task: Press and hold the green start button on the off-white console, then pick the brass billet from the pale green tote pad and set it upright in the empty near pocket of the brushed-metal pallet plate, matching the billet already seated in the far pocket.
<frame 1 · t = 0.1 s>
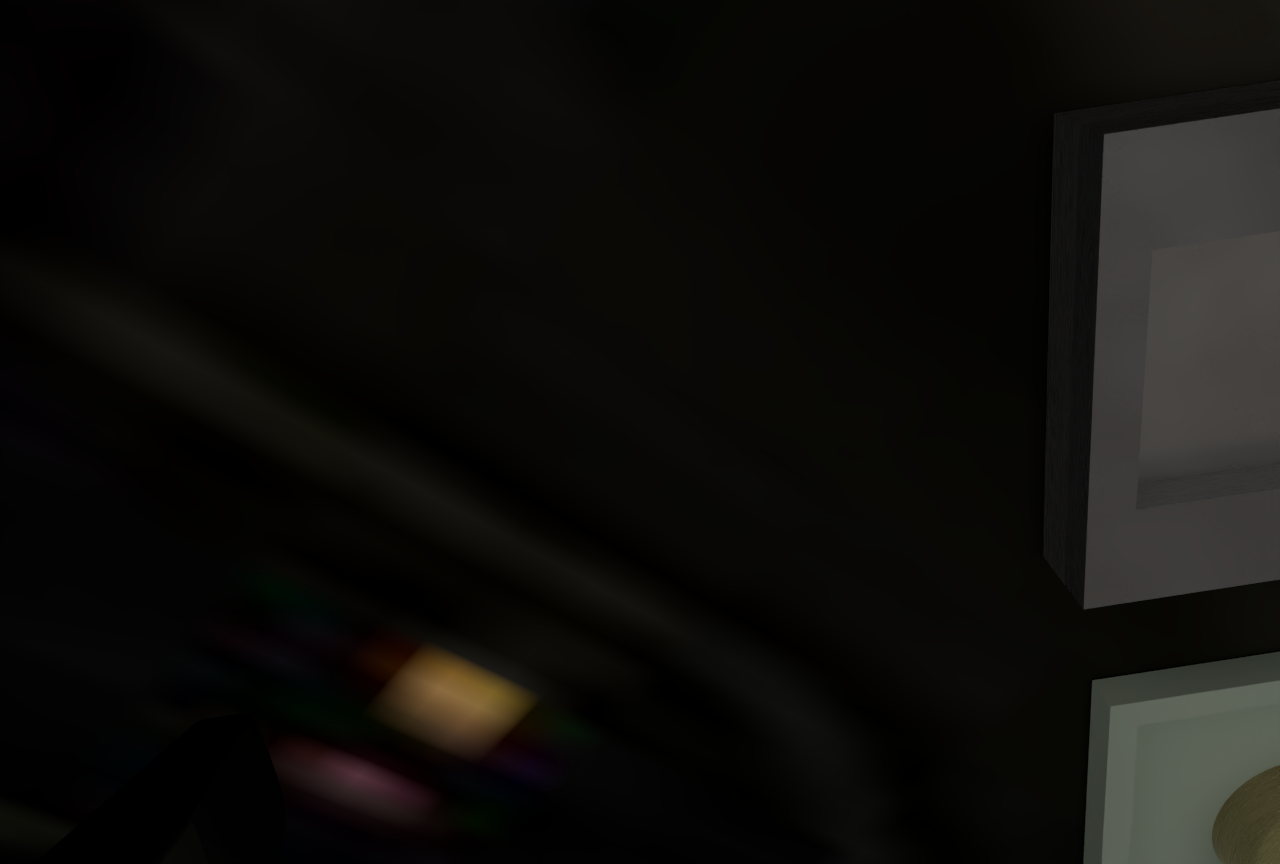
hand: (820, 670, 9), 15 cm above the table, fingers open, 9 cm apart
tote pad: (1278, 809, 30), on the table
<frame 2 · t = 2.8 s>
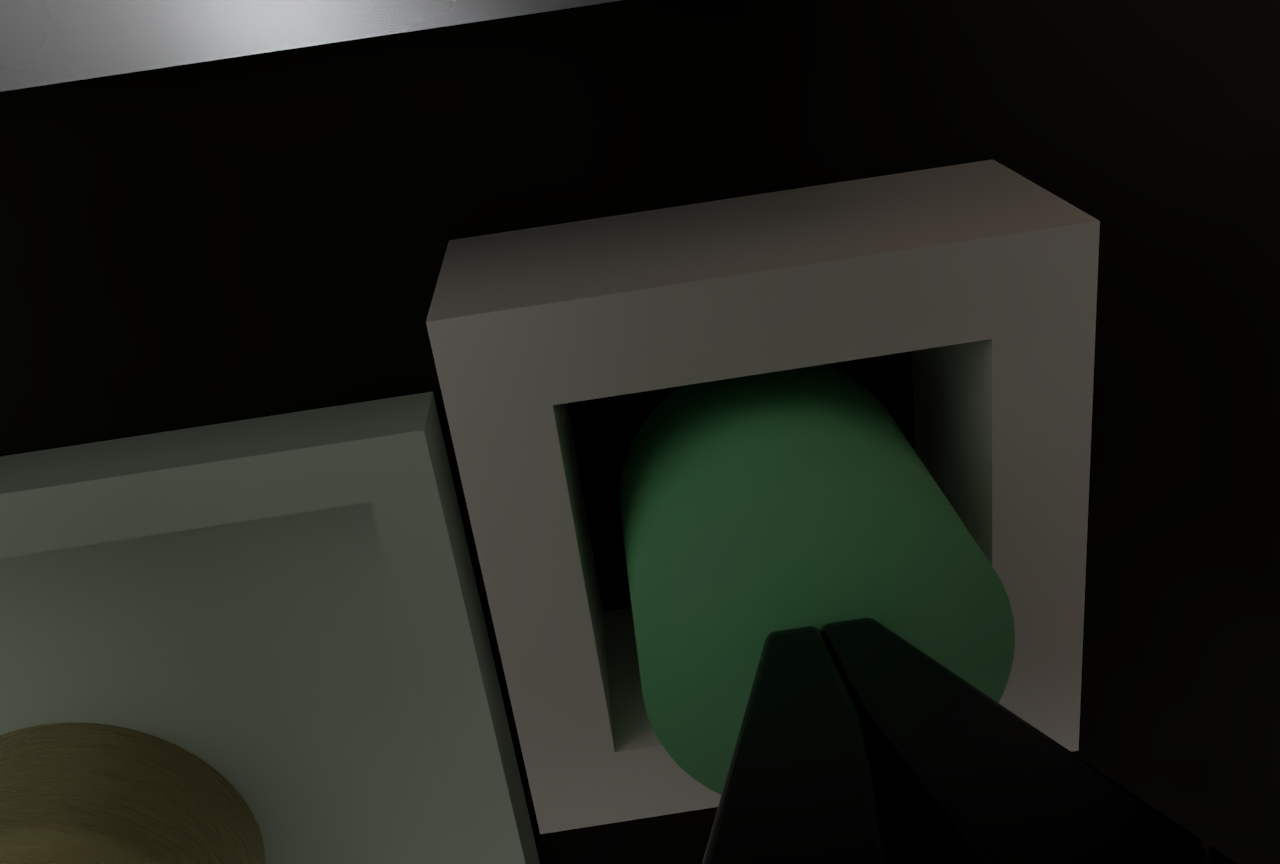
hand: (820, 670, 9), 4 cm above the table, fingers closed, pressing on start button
button console: (746, 445, 13), on the table
tote pad: (108, 829, 14), on the table
start button: (792, 568, 10), point 3 cm above the table, slide at 0.2 cm, touching gripper
billet: (97, 852, 14), resting on tote pad
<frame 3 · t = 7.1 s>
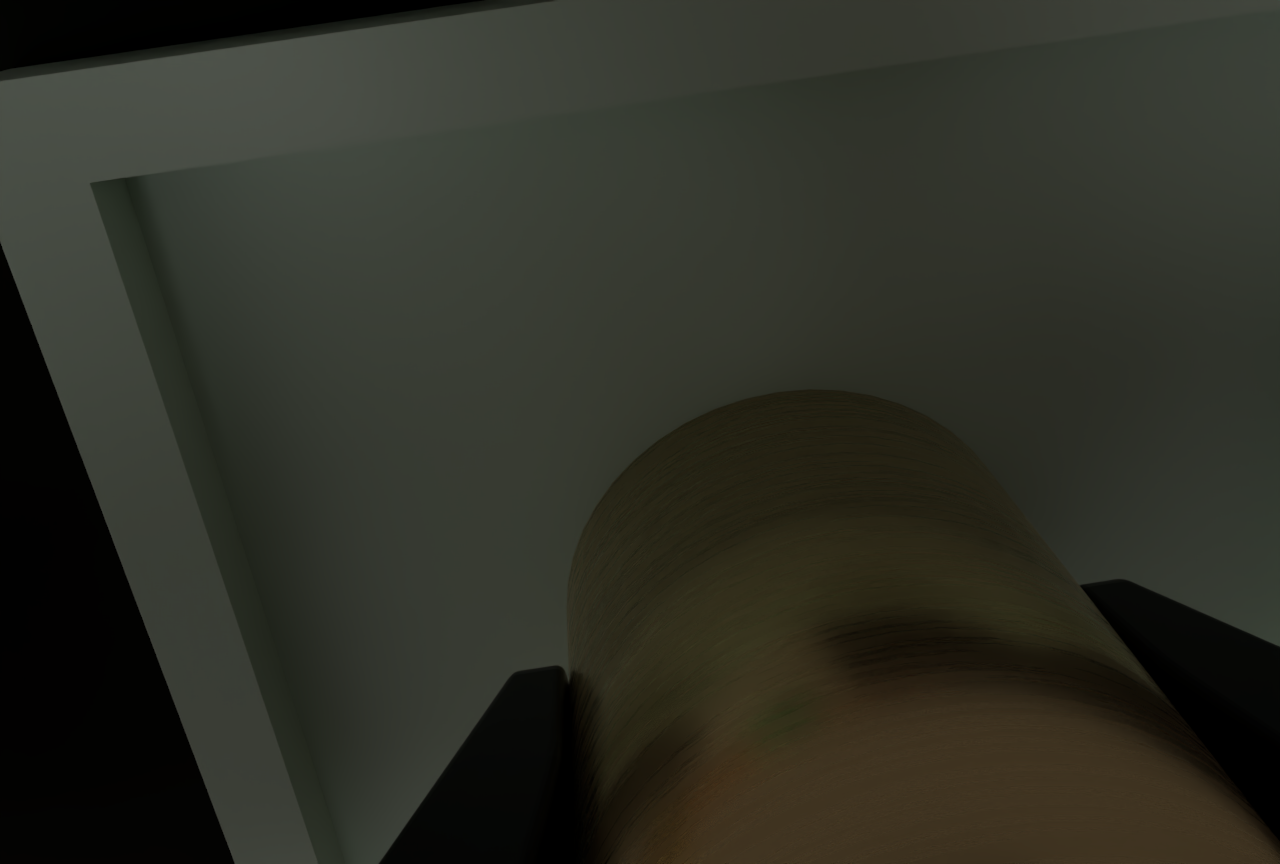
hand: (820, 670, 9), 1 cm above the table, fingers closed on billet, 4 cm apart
tote pad: (785, 575, 10), on the table
billet: (794, 599, 10), resting on tote pad, touching gripper
when the fingers open (3 cm above the table, at t = 10.9 s): billet stays where it is, resting on pallet plate.
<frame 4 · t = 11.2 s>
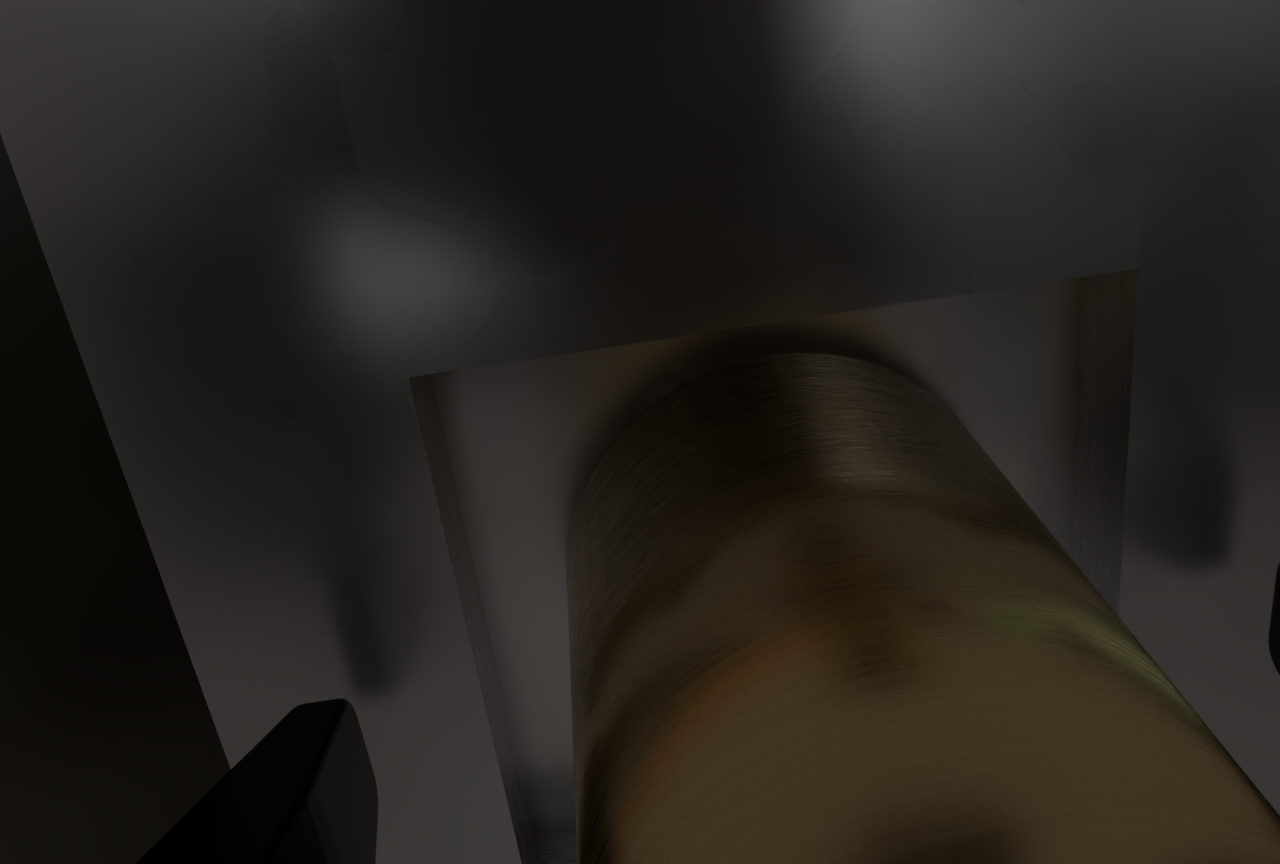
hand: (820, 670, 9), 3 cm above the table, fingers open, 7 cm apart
billet: (783, 556, 11), point 1 cm above the table, touching pallet plate
pallet plate: (714, 74, 10), on the table
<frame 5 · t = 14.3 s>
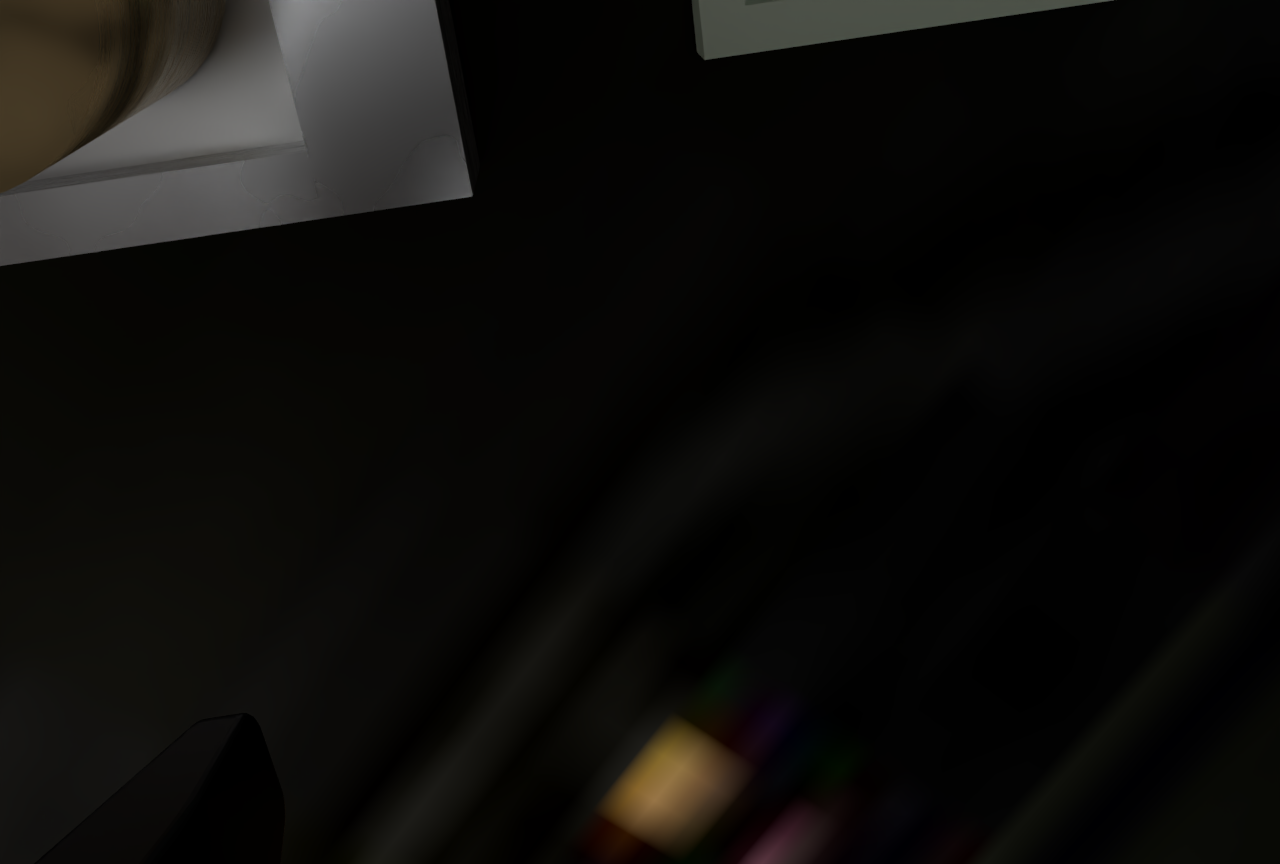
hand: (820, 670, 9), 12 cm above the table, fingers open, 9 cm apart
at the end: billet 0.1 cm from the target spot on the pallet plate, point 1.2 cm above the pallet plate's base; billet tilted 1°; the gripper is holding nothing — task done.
